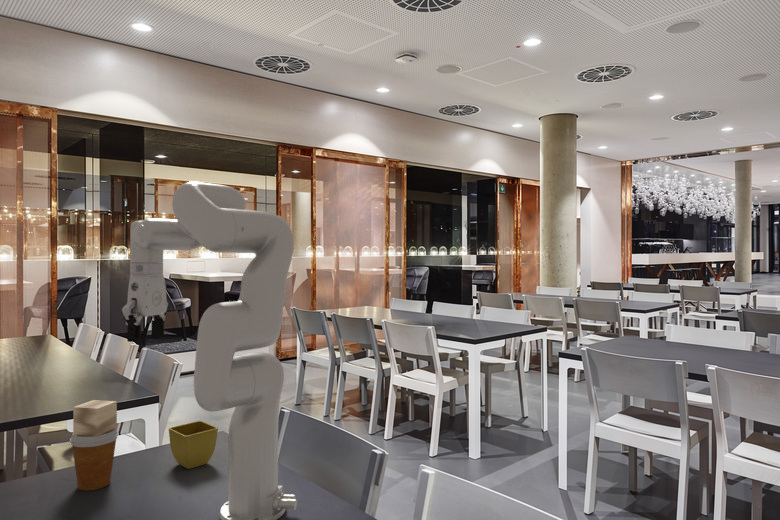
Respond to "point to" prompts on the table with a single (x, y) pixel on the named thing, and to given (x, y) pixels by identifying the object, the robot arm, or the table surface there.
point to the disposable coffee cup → (94, 459)
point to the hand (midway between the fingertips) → (146, 338)
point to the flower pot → (193, 443)
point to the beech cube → (94, 418)
